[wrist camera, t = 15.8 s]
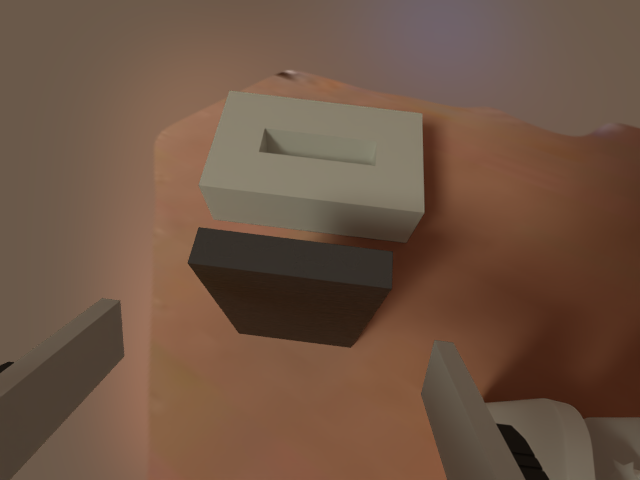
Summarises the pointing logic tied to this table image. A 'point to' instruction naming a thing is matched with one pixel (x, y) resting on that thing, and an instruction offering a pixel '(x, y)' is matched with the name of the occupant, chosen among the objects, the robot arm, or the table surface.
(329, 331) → the cover plate
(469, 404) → the robot arm
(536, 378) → the table surface
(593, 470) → the cable organizer
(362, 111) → the slotted box
